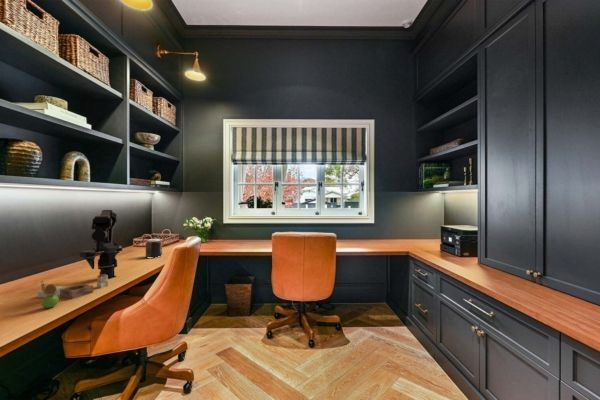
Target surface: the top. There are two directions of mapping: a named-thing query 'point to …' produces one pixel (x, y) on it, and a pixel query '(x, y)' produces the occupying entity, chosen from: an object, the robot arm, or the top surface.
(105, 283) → the peg
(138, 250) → the top surface
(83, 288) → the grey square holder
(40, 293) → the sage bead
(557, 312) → the top surface
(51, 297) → the snail figurine
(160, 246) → the jar
